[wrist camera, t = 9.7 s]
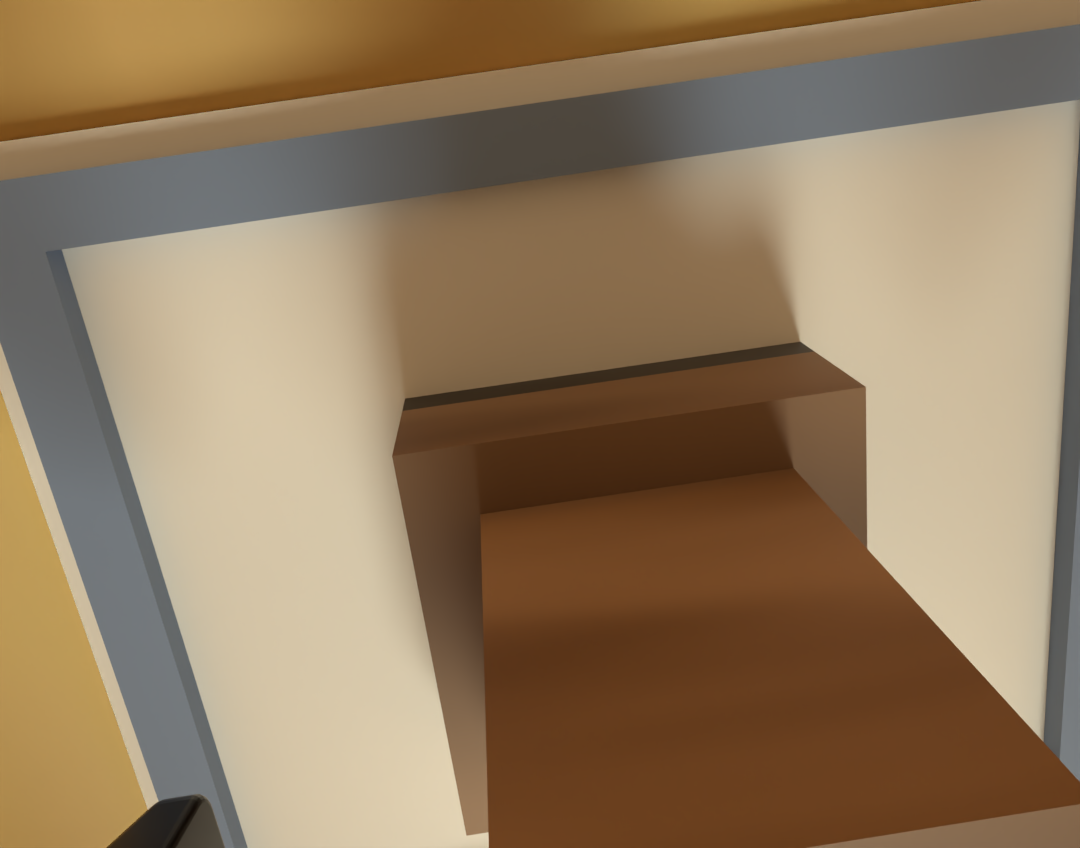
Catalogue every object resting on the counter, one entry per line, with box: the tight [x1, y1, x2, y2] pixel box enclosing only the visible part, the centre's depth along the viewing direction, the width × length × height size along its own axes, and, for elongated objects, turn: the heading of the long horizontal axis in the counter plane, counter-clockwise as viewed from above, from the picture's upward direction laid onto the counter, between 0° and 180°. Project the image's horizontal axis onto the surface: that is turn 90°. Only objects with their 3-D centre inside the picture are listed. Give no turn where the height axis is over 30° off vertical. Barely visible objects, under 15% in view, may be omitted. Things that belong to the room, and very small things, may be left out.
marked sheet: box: [0, 0, 1080, 848], centre depth 12 cm, size 12×14×1 cm
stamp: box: [392, 342, 1080, 848], centre depth 9 cm, size 5×5×7 cm
